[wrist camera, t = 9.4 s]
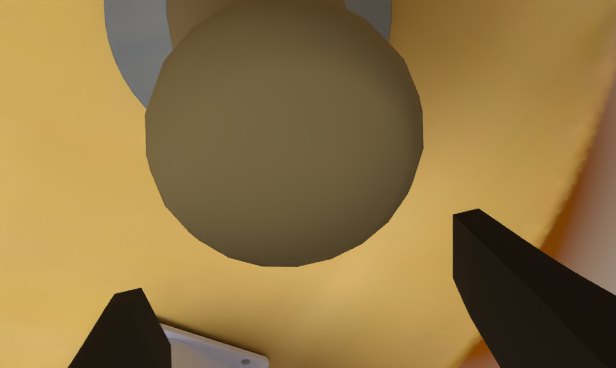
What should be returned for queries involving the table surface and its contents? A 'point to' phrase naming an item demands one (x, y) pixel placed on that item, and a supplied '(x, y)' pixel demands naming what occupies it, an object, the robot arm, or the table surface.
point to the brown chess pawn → (281, 128)
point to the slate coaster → (157, 43)
